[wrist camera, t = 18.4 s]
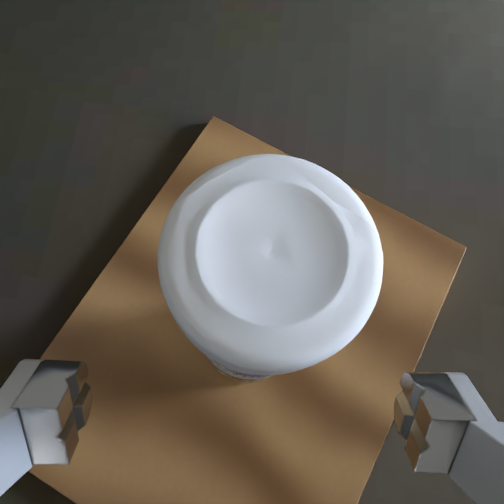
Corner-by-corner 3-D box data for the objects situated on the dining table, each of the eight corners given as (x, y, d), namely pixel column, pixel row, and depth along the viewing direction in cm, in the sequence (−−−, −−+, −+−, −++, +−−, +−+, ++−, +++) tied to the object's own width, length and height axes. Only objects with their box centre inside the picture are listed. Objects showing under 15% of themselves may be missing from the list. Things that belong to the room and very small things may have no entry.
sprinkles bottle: (211, 392, 20) (171, 397, 7) (195, 299, 21) (137, 164, 9) (305, 371, 20) (423, 342, 8) (283, 281, 22) (353, 129, 9)
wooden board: (292, 644, 18) (294, 652, 17) (-13, 438, 20) (-20, 440, 19) (461, 250, 23) (467, 247, 23) (213, 121, 25) (213, 115, 25)
